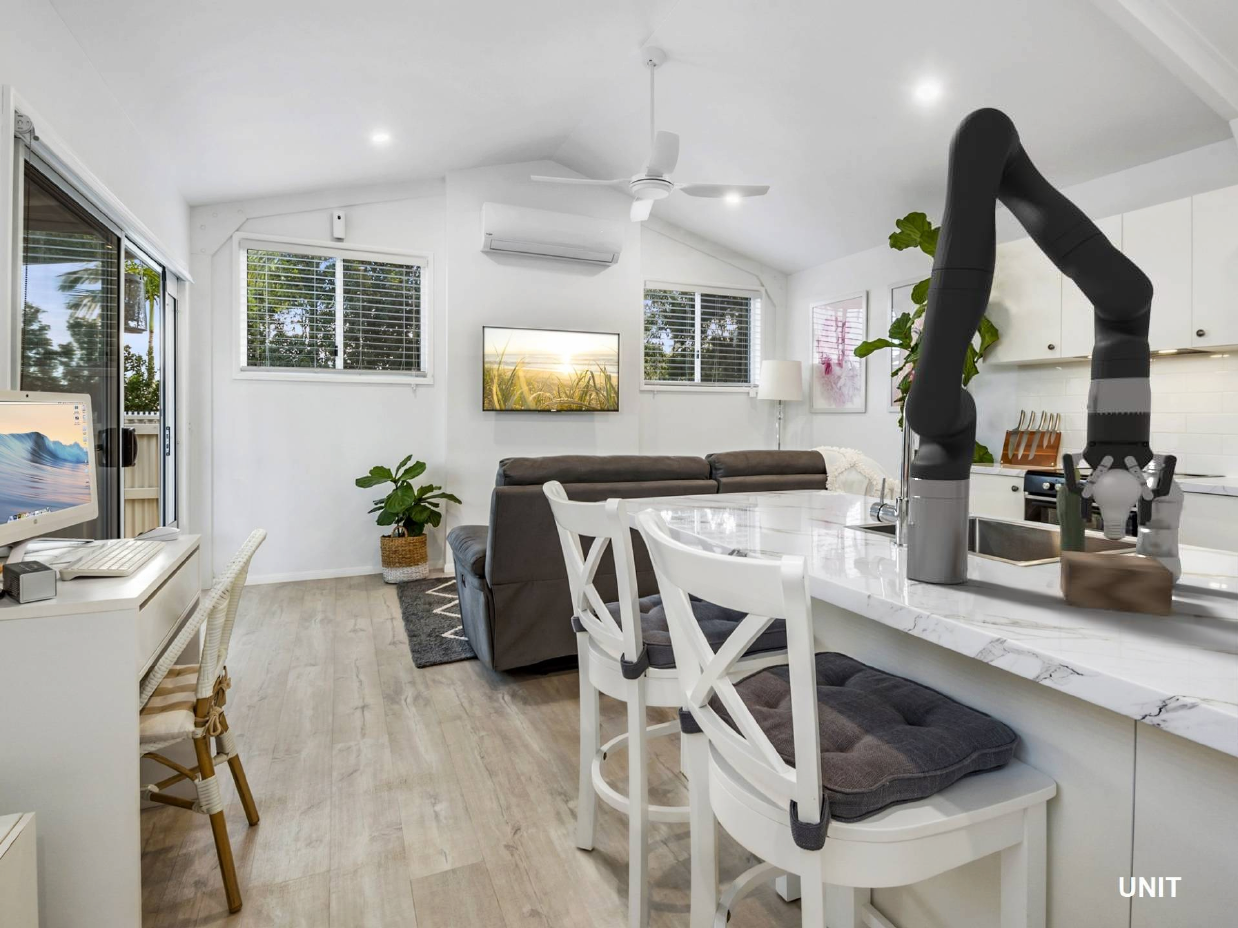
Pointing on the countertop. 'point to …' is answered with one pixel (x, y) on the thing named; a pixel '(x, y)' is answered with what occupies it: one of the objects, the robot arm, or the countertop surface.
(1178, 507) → the plastic bottle
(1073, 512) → the vegetable
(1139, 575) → the riser block
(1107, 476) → the lightbulb
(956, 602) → the countertop surface
